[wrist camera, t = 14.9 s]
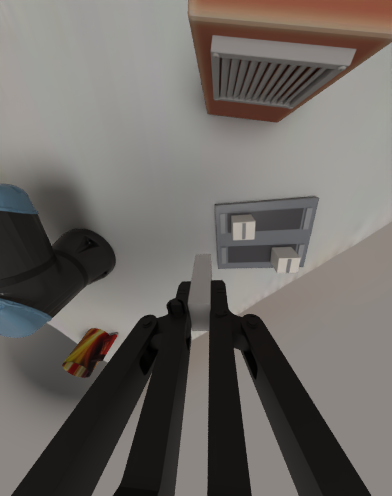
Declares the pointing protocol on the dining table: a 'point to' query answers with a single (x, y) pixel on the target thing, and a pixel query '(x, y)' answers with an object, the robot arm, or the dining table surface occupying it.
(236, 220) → the tab front
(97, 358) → the mug
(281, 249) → the tab back
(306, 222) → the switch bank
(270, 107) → the orange rectangular box
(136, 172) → the dining table surface
